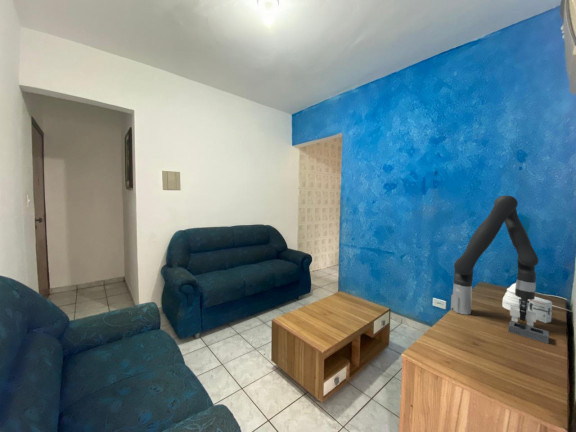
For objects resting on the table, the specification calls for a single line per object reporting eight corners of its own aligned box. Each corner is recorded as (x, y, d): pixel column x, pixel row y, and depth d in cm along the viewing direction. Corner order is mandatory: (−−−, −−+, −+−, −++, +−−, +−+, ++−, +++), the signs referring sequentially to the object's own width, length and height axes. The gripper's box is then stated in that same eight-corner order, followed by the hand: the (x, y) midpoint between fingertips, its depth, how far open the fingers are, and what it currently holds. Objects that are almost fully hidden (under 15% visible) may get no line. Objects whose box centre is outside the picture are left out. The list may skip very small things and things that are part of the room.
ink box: (526, 316, 138) (527, 296, 137) (531, 314, 139) (533, 295, 139) (546, 323, 130) (547, 302, 129) (551, 322, 131) (552, 301, 131)
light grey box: (509, 320, 130) (510, 308, 130) (509, 318, 132) (510, 306, 132) (535, 327, 123) (536, 314, 122) (535, 325, 125) (536, 312, 124)
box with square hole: (508, 331, 122) (508, 325, 121) (509, 326, 126) (509, 320, 126) (548, 343, 111) (548, 336, 111) (548, 338, 116) (548, 331, 116)
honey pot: (536, 313, 141) (538, 284, 140) (515, 313, 141) (517, 284, 140) (516, 304, 154) (518, 277, 153) (496, 304, 154) (498, 277, 153)
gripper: (534, 294, 119) (532, 326, 120) (535, 287, 128) (532, 317, 129) (514, 289, 124) (511, 320, 126) (516, 283, 134) (514, 312, 135)
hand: (522, 318), depth 127 cm, fingers closed on light grey box, 3 cm apart
